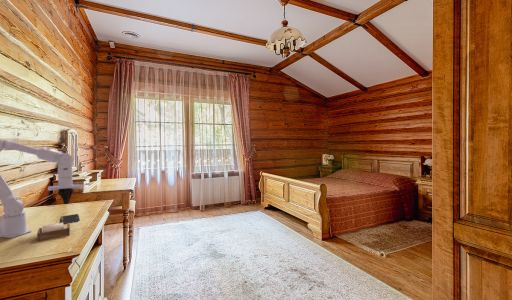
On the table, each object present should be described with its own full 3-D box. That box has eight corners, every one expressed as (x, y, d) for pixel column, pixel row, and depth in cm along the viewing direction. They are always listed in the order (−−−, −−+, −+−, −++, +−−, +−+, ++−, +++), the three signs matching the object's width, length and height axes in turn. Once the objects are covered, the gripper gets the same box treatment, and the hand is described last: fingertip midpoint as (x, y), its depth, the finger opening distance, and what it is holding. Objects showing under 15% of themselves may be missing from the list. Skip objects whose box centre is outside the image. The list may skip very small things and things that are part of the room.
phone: (60, 223, 122) (60, 216, 134) (60, 225, 122) (60, 218, 134) (79, 219, 127) (78, 213, 139) (80, 222, 127) (78, 215, 139)
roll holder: (39, 235, 107) (39, 228, 107) (69, 230, 114) (69, 222, 113) (37, 241, 101) (37, 232, 101) (69, 234, 108) (68, 227, 108)
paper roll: (42, 223, 106) (43, 232, 108) (41, 231, 103) (42, 240, 105) (63, 220, 111) (63, 228, 112) (63, 227, 107) (63, 236, 109)
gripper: (43, 178, 117) (45, 206, 117) (78, 177, 120) (79, 204, 120) (52, 177, 123) (53, 203, 124) (84, 175, 127) (85, 201, 127)
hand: (66, 203), depth 123 cm, fingers closed
